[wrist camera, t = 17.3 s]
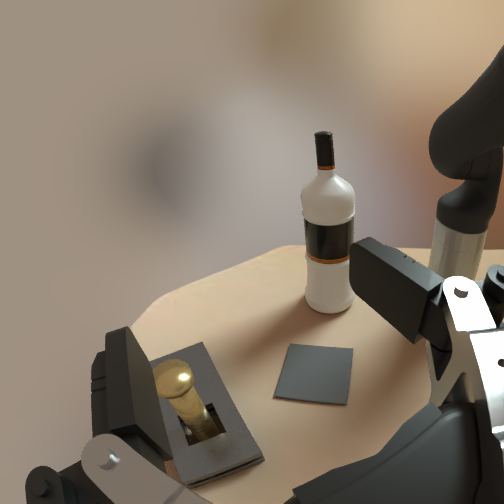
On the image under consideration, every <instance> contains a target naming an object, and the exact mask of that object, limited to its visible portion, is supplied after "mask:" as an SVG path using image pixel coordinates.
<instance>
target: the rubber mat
mask: <svg viewBox="0 0 504 504" xmlns="http://www.w3.org/2000/svg"><path fill="white" fill-rule="evenodd" d="M352 357H353V348H336V347H323V346H310V345H299V344H290V347H289V350H288V354H287V357H286V360H285V364H284V367H283V370H282V373H281V377H280V380H279V383H278V386H277V389H276V392H275V395H274V396H275V397H278V398H285V399H292V400H300V401H308V402H317V403H327V404H339V405H347V399H348V391H349V384H350V375H351V366H352Z"/></svg>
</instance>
